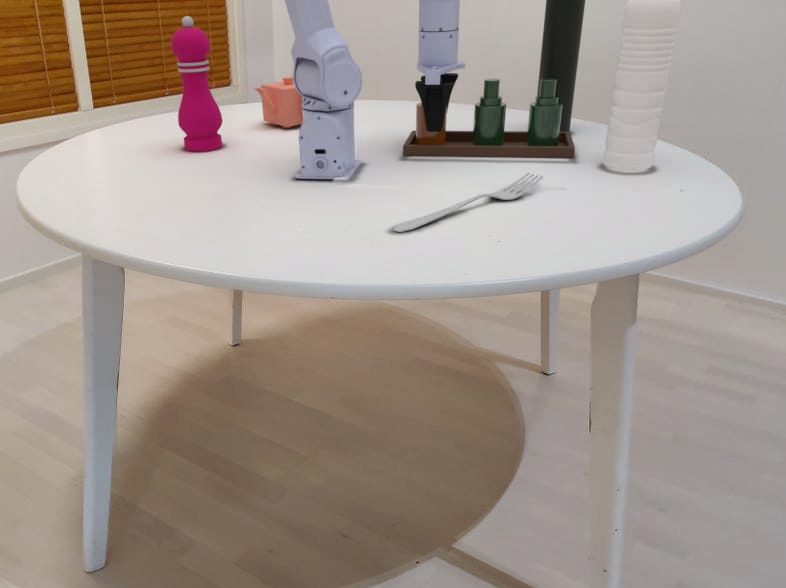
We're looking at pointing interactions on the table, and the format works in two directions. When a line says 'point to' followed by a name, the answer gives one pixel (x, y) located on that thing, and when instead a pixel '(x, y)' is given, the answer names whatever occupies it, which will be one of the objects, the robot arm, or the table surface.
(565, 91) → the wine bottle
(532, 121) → the green bottle
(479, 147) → the tray
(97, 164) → the table surface
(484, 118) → the green bottle
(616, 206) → the table surface
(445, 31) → the robot arm
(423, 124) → the amber bottle
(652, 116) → the water bottle
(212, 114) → the pepper mill
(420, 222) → the fork
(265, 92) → the teapot
